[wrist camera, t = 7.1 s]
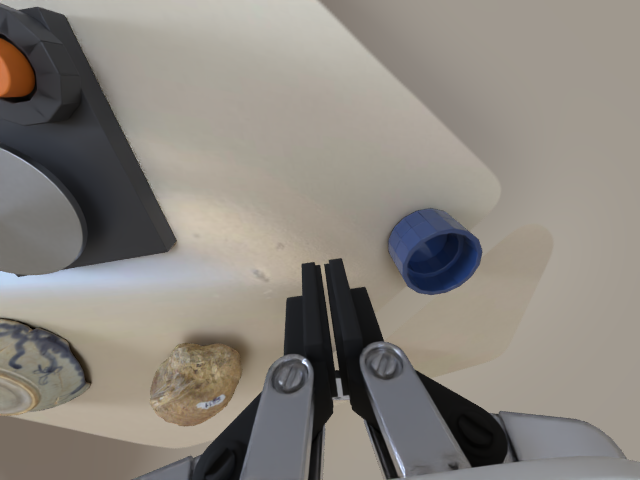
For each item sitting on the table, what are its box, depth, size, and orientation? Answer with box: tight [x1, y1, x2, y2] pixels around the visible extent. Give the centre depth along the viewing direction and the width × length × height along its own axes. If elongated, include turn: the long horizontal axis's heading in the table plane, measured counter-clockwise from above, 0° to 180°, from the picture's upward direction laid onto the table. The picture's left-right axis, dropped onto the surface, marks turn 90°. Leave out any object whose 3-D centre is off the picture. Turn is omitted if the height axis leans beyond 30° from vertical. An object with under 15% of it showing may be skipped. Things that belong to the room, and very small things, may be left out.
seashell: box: [150, 343, 242, 426], centre depth 30 cm, size 14×8×8 cm
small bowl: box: [388, 208, 482, 295], centre depth 24 cm, size 7×7×4 cm
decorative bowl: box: [0, 319, 91, 416], centre depth 29 cm, size 15×4×15 cm
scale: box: [0, 3, 176, 277], centre depth 18 cm, size 16×13×4 cm
